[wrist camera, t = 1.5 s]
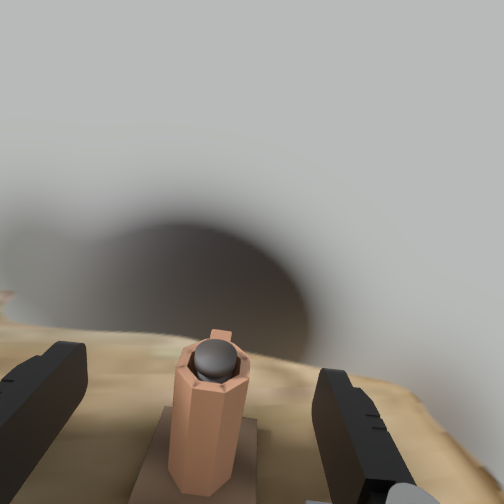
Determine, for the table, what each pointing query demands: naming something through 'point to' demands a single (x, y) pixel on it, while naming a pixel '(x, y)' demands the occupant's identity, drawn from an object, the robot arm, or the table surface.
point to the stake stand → (156, 461)
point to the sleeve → (206, 423)
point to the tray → (315, 502)
